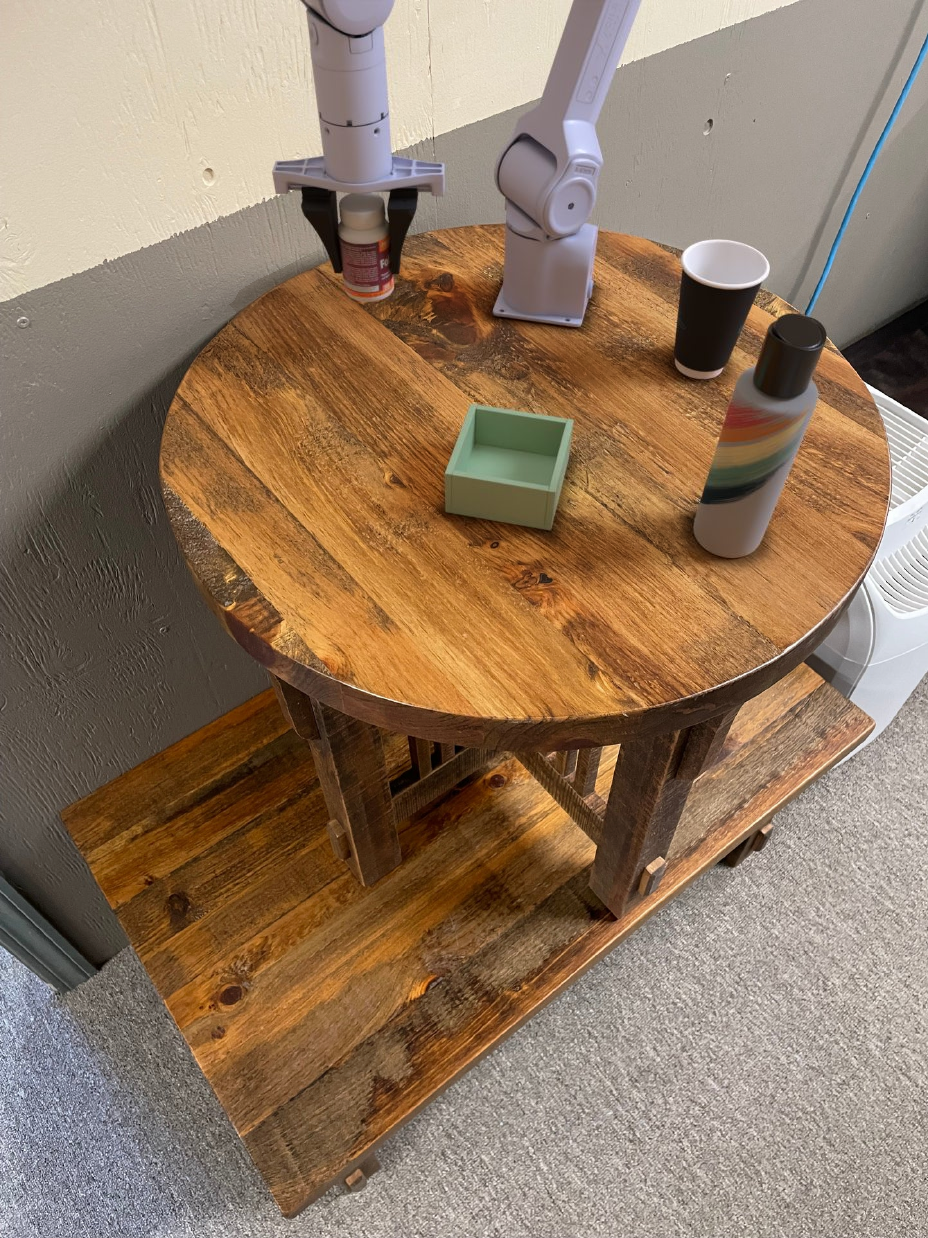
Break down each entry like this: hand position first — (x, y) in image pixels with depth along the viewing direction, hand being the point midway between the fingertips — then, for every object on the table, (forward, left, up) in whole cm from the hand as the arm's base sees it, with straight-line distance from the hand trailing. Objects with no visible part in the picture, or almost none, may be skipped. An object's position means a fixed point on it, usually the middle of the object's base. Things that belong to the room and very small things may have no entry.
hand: (368, 268), depth 81 cm
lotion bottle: (-36, +17, -9) cm, 41 cm away
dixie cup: (-32, -6, -9) cm, 34 cm away
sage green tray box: (-17, +16, -9) cm, 25 cm away
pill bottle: (0, 0, -2) cm, 2 cm away
